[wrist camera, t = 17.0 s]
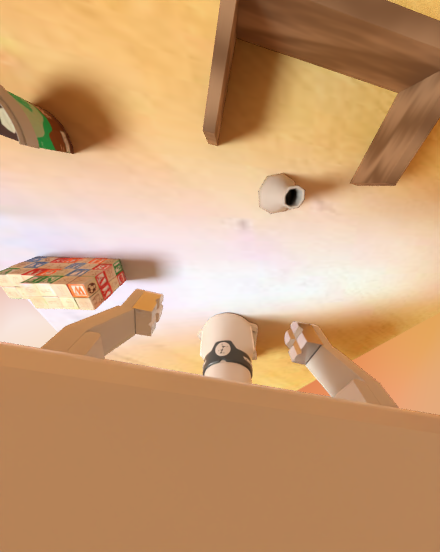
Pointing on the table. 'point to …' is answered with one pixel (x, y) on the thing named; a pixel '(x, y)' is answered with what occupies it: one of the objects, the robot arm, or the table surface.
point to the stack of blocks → (63, 281)
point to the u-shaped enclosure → (344, 64)
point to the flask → (280, 194)
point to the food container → (31, 124)
